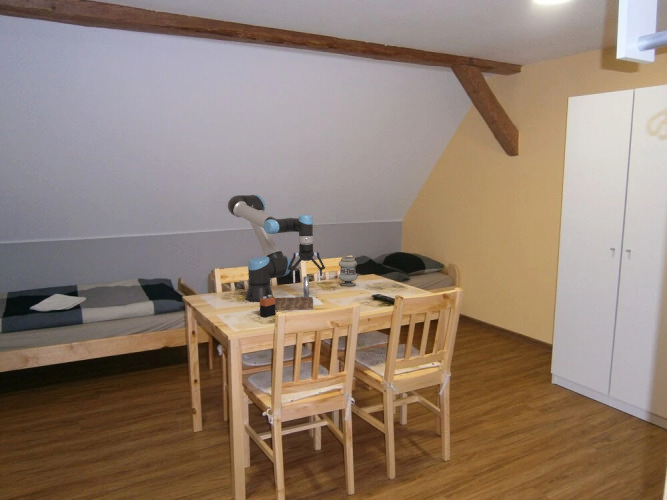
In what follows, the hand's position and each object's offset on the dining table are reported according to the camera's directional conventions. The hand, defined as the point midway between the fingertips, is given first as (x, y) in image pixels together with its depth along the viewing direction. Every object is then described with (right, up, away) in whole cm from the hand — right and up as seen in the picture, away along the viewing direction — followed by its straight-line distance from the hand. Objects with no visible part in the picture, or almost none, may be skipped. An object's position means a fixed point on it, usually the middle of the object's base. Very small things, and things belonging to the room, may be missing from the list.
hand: (306, 282), depth 270 cm
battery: (-18, -15, -26) cm, 35 cm away
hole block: (-8, -13, -11) cm, 19 cm away
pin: (0, -11, +2) cm, 11 cm away
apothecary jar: (+24, -5, +45) cm, 51 cm away
